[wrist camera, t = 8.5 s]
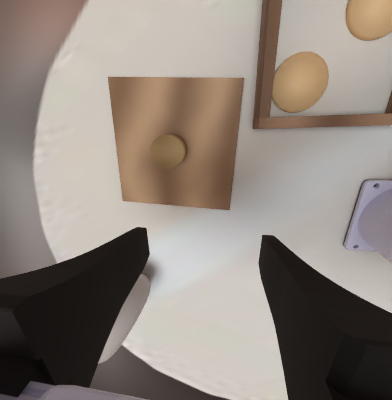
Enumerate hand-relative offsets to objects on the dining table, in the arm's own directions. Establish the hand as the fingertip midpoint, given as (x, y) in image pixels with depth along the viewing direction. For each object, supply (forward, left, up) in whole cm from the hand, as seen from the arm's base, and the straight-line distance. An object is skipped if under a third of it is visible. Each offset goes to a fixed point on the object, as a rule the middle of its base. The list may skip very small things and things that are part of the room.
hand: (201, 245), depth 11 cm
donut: (+11, +14, -11) cm, 21 cm away
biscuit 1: (-8, -10, -11) cm, 16 cm away
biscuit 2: (-13, -15, -11) cm, 22 cm away
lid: (+4, -5, -11) cm, 13 cm away
